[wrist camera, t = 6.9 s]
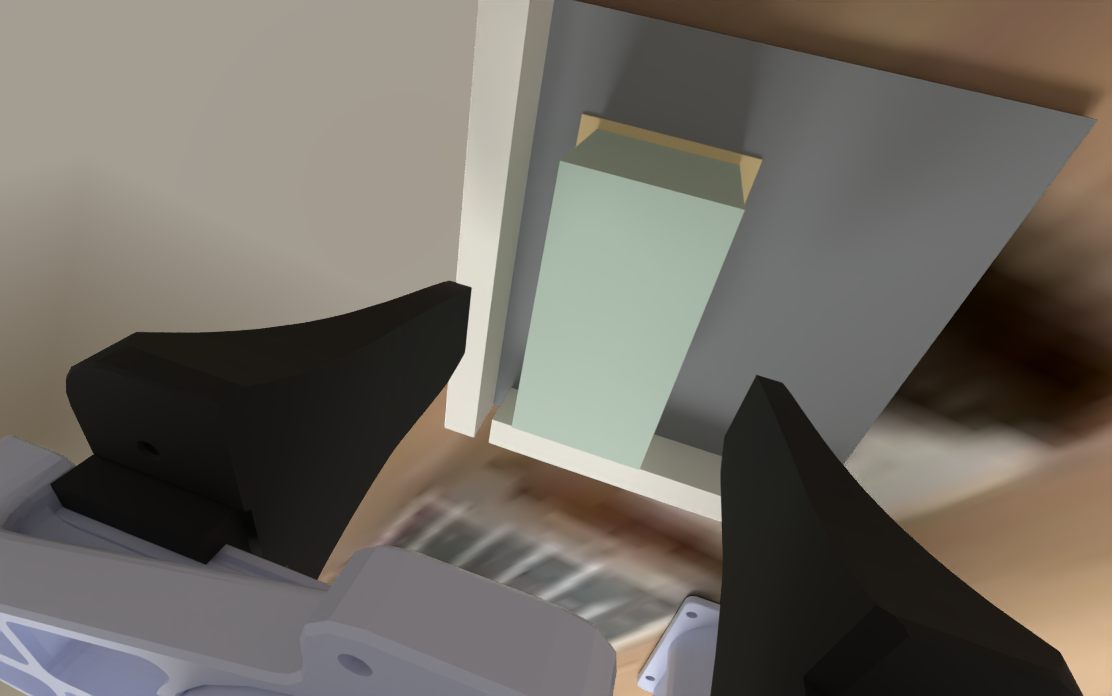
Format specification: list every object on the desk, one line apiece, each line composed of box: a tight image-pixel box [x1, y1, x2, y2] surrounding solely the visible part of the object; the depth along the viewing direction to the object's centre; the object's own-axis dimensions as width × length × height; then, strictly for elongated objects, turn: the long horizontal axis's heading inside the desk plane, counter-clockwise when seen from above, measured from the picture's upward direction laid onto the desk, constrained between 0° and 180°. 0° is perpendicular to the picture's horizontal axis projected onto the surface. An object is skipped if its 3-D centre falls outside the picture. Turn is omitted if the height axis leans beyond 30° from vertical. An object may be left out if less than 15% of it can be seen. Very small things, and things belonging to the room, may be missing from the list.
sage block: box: [512, 129, 745, 470], centre depth 15 cm, size 4×8×4 cm, turn 169°
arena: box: [445, 0, 1097, 522], centre depth 16 cm, size 14×14×2 cm
